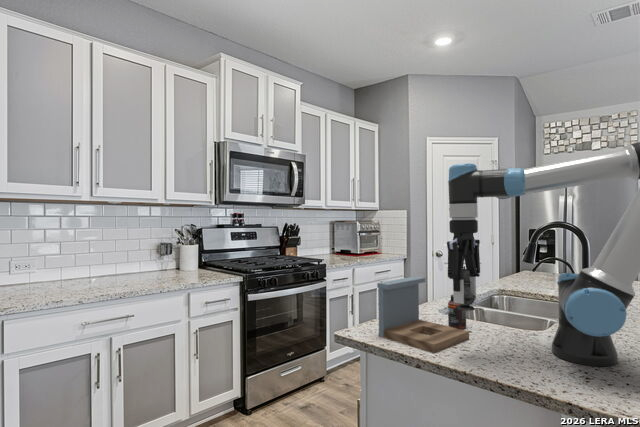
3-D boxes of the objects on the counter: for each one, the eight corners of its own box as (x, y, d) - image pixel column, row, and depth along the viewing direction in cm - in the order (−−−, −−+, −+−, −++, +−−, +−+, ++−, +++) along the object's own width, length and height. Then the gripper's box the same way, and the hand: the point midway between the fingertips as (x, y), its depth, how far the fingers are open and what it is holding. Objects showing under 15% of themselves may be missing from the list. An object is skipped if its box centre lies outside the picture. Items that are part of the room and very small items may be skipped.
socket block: (469, 339, 124) (468, 331, 124) (434, 353, 112) (434, 344, 112) (419, 326, 138) (419, 319, 138) (383, 337, 126) (383, 329, 126)
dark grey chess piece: (478, 311, 106) (477, 267, 106) (455, 310, 107) (454, 267, 107) (474, 306, 112) (473, 264, 112) (452, 305, 113) (452, 264, 113)
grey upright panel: (425, 327, 137) (425, 277, 137) (388, 339, 124) (387, 284, 124) (415, 324, 140) (414, 276, 140) (377, 336, 127) (377, 283, 127)
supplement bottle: (466, 326, 138) (466, 294, 138) (465, 330, 133) (465, 297, 133) (449, 324, 141) (449, 293, 141) (447, 328, 135) (446, 296, 135)
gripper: (468, 218, 119) (469, 294, 119) (432, 219, 107) (434, 304, 107) (492, 218, 113) (494, 298, 113) (457, 219, 101) (459, 308, 101)
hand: (465, 300), depth 110 cm, fingers closed on dark grey chess piece, 6 cm apart
